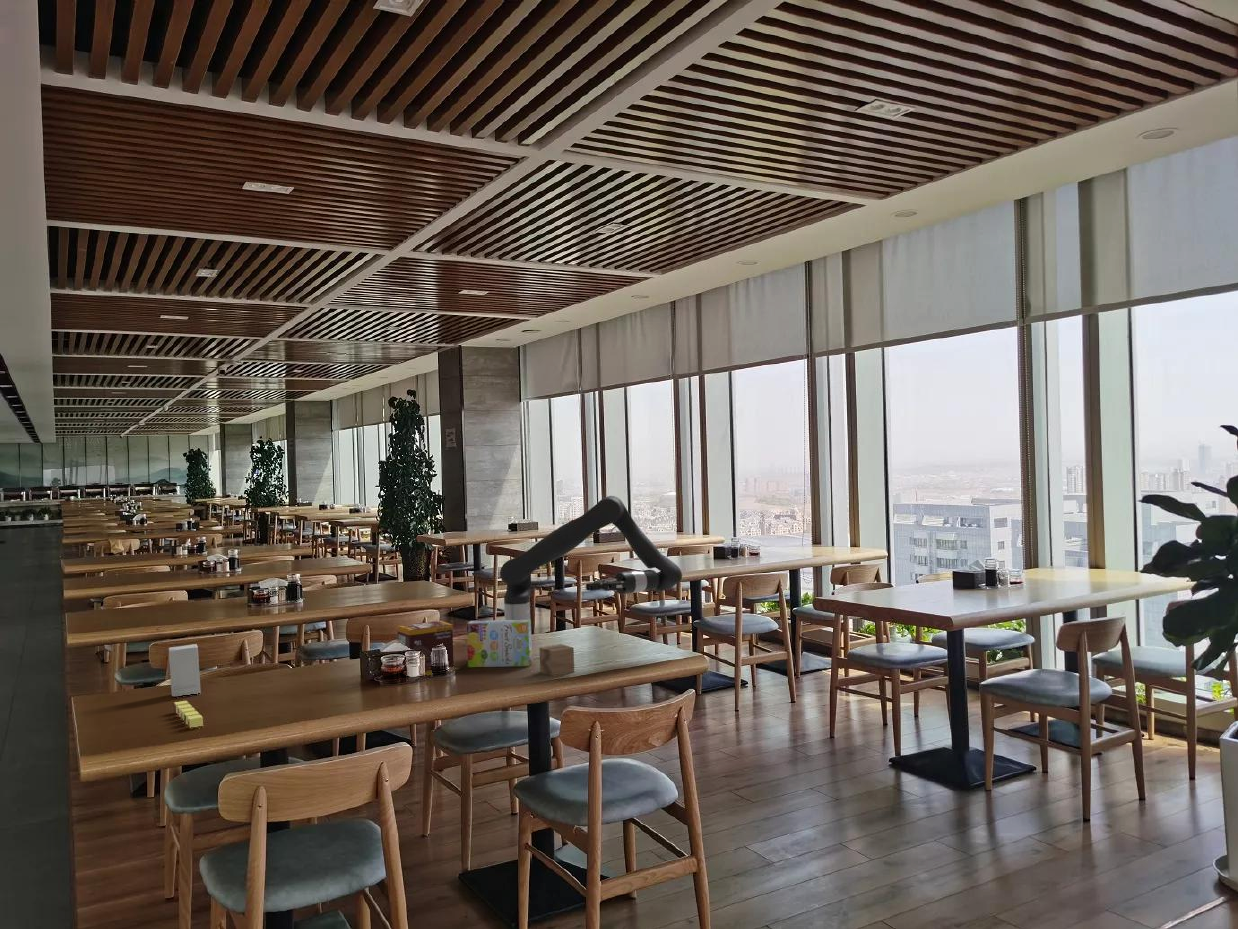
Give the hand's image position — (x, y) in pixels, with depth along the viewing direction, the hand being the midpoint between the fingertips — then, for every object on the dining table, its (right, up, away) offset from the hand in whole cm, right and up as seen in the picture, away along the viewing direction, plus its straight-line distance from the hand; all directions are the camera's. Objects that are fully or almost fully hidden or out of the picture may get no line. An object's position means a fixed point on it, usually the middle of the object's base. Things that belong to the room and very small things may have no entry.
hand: (588, 587), depth 307 cm
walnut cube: (-10, -26, -7) cm, 29 cm away
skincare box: (-123, -30, -22) cm, 128 cm away
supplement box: (-53, -28, -1) cm, 60 cm away
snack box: (-30, -27, +5) cm, 41 cm away
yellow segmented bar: (-109, -30, -53) cm, 126 cm away
